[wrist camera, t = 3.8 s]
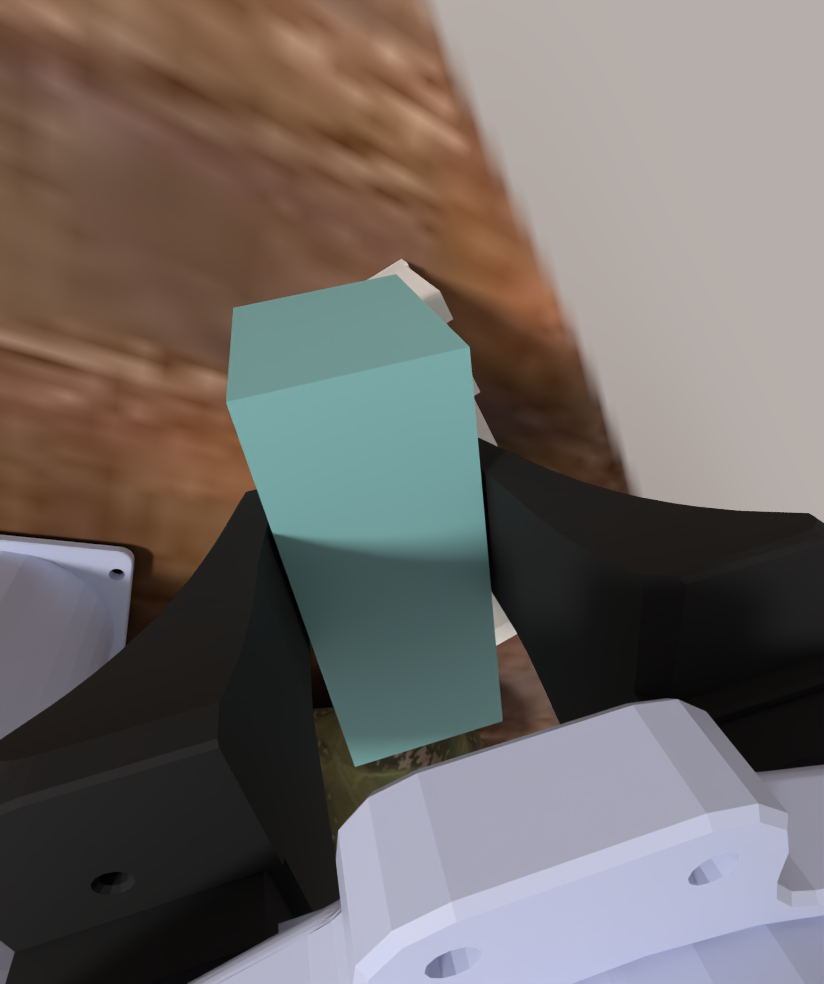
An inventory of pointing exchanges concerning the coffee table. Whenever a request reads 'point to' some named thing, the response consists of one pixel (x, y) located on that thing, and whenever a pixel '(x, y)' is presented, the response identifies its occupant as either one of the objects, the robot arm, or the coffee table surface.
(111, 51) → the coffee table surface
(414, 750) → the decorative rock
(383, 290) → the teal block
